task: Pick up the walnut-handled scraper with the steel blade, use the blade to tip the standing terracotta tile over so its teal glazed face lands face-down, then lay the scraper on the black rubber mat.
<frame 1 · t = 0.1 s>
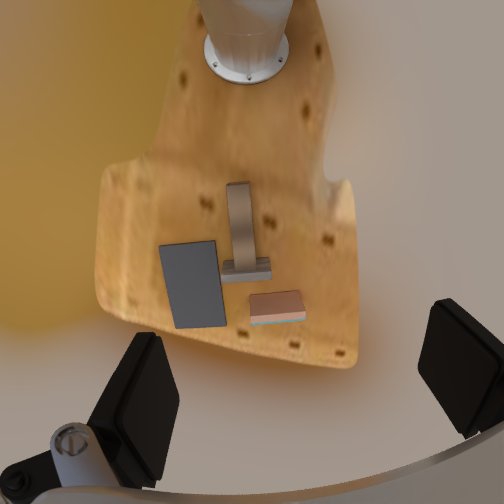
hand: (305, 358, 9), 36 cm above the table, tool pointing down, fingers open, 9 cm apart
scraper: (242, 221, 45), on the table
tile: (274, 296, 49), on the table
mat: (193, 287, 48), on the table
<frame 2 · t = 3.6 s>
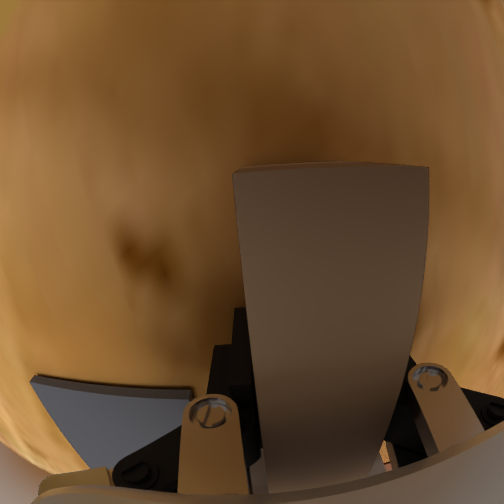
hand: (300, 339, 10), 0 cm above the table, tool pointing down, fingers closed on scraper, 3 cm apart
scraper: (299, 335, 10), on the table, touching gripper
mat: (148, 468, 14), on the table
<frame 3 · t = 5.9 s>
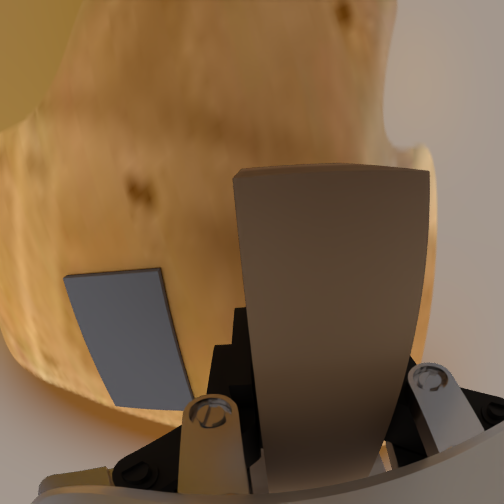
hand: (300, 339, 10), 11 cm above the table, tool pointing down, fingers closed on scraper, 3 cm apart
scraper: (299, 337, 10), point 11 cm above the table, touching gripper
mat: (132, 349, 24), on the table
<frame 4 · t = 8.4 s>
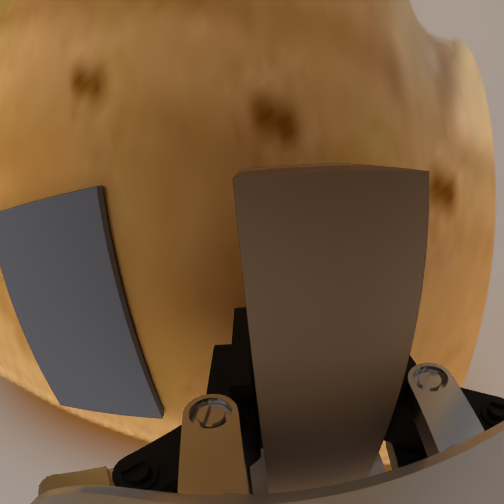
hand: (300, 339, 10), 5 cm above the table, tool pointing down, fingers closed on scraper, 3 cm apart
scraper: (299, 337, 10), point 4 cm above the table, touching gripper
mat: (70, 321, 15), on the table
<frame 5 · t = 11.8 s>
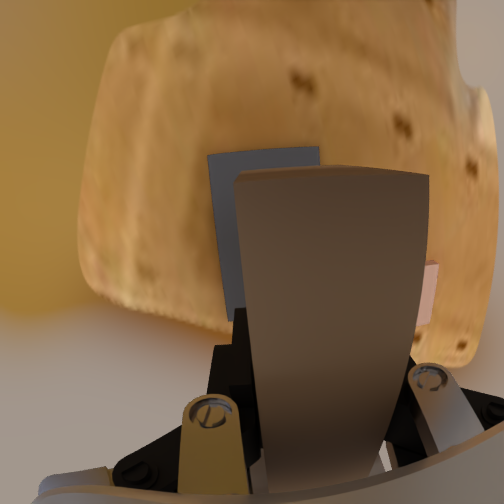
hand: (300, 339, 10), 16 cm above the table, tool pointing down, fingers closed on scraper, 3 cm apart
scraper: (299, 338, 10), point 16 cm above the table, touching gripper
tile: (403, 265, 26), on the table, tilted 90°
mat: (270, 237, 26), on the table
when the fingers open (2 cm above the table, at t = 14.9 s): scraper stays where it is, resting on mat.
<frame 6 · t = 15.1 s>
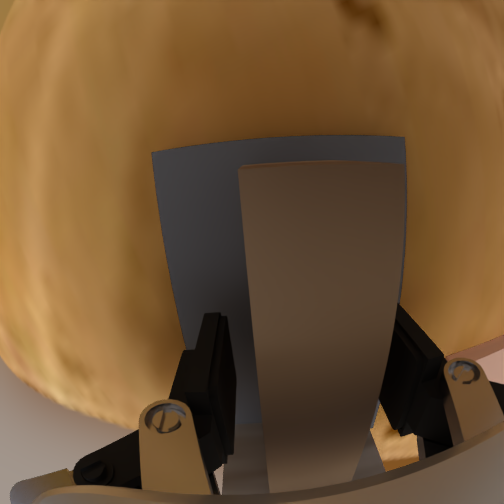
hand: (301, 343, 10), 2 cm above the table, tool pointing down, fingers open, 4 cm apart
scraper: (295, 322, 11), point 1 cm above the table, touching mat
tile: (494, 343, 13), on the table, tilted 90°
mat: (293, 327, 12), on the table
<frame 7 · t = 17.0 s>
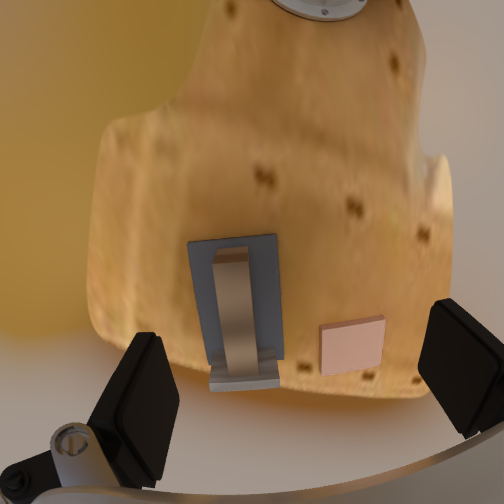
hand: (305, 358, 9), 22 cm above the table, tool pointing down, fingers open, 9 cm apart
scraper: (238, 302, 31), point 1 cm above the table, touching mat
tile: (353, 321, 33), on the table, tilted 90°
mat: (239, 305, 32), on the table
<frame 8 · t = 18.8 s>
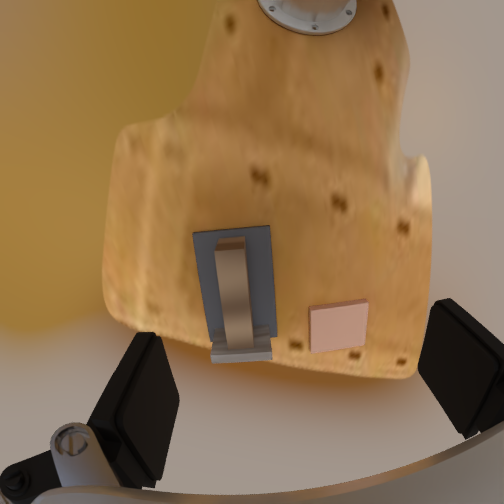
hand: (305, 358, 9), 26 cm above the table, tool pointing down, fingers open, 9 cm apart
scraper: (237, 284, 36), point 1 cm above the table, touching mat
tile: (338, 304, 38), on the table, tilted 90°
mat: (237, 287, 37), on the table
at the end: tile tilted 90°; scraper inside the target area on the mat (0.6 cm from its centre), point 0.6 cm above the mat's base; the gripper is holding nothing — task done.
